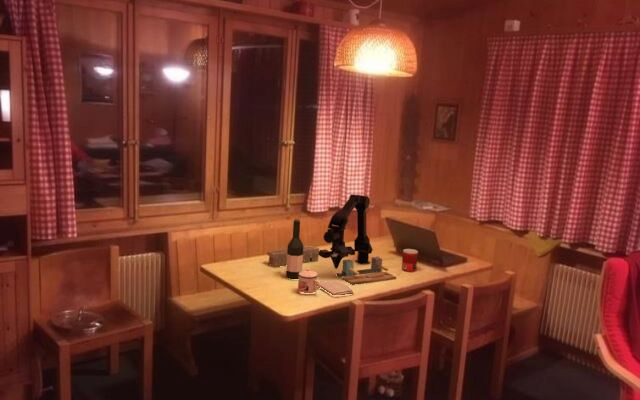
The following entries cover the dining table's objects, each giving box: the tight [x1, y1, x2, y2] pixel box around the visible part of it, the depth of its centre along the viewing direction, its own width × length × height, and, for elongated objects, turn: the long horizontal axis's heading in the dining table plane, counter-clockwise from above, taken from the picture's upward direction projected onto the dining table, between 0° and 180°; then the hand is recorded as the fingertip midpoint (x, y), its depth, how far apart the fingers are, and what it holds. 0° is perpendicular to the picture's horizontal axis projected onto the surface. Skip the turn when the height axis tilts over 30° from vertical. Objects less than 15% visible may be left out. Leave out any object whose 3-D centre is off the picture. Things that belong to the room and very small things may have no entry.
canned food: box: [401, 248, 419, 273], centre depth 309 cm, size 8×8×11 cm
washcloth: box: [317, 279, 354, 295], centre depth 272 cm, size 12×18×3 cm, turn 33°
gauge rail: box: [335, 256, 389, 278], centre depth 295 cm, size 12×27×8 cm, turn 119°
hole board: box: [342, 271, 397, 286], centre depth 291 cm, size 9×27×1 cm, turn 119°
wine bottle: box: [285, 218, 305, 279], centre depth 284 cm, size 8×8×30 cm
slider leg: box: [341, 258, 359, 277], centre depth 291 cm, size 12×4×8 cm, turn 29°
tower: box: [266, 244, 320, 268], centre depth 310 cm, size 8×8×29 cm
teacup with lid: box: [297, 267, 321, 293], centre depth 265 cm, size 12×9×12 cm
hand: (336, 268), depth 291 cm, fingers closed
